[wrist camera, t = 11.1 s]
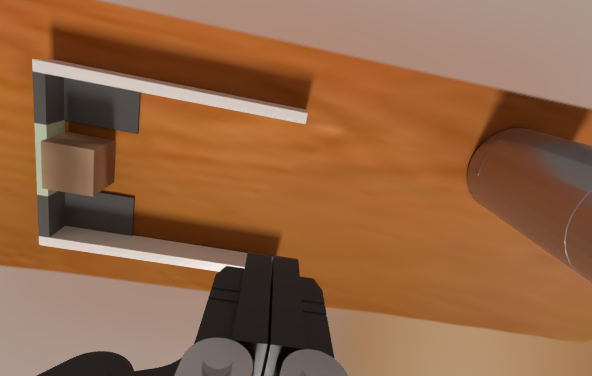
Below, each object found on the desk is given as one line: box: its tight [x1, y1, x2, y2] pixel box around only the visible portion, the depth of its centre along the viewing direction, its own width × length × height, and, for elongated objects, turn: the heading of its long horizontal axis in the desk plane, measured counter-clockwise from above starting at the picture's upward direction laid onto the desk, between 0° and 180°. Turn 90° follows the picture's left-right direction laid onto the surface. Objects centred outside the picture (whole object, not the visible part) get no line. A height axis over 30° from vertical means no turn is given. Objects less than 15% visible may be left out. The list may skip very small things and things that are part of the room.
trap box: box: [32, 59, 308, 272], centre depth 36 cm, size 24×18×3 cm
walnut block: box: [41, 132, 116, 197], centre depth 34 cm, size 4×4×4 cm
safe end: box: [35, 120, 65, 196], centre depth 35 cm, size 1×7×3 cm, turn 169°
